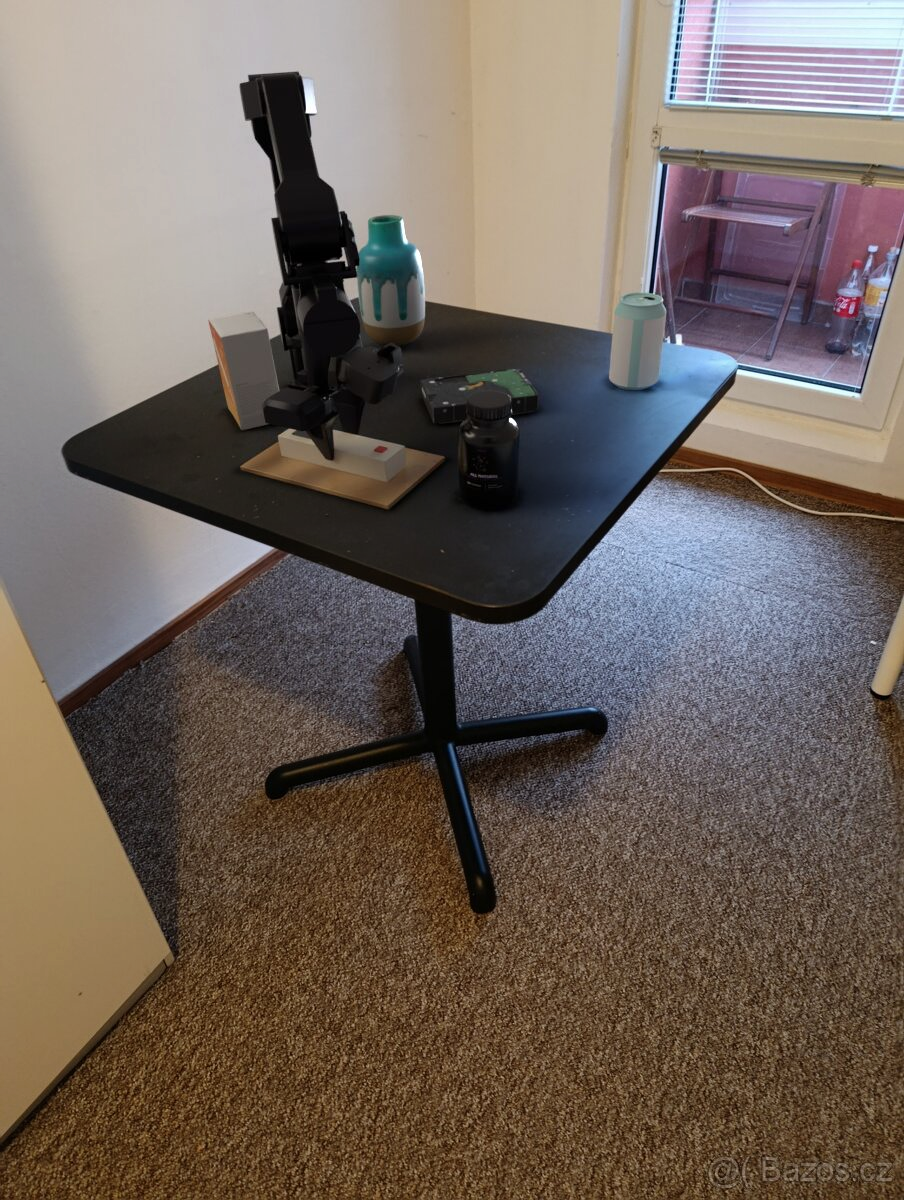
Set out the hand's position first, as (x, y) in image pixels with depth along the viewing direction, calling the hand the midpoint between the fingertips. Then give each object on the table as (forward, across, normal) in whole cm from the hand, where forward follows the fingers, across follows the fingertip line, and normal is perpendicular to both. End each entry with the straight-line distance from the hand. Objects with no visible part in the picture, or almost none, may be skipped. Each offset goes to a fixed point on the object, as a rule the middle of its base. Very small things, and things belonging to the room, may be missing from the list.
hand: (341, 451), depth 99 cm
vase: (+2, +39, +17) cm, 43 cm away
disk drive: (+2, +23, -7) cm, 24 cm away
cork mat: (+2, 0, 0) cm, 2 cm away
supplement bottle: (+2, +1, -20) cm, 20 cm away
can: (+2, +39, -24) cm, 46 cm away
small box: (+2, +7, +20) cm, 21 cm away
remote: (+1, 0, 0) cm, 1 cm away
